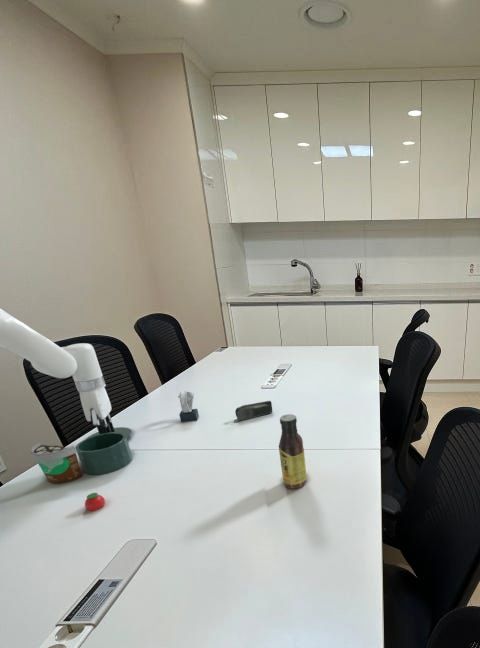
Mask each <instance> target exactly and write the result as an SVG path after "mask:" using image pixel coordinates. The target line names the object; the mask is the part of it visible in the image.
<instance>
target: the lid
mask: <svg viewBox="0 0 480 648" xmlns="http://www.w3.org/2000/svg"><path fill="white" fill-rule="evenodd" d="M107 426H109V428H110V425H109V423H107ZM114 430H115V432H120V433H123V434H125V436H126V438H127V439H128V438H129V437H130V436H131V435H132V434H133V431H132V429H131V428H128V427H125V426H123V427H122V426H121V427H120V426H119V427H118V426H117V427H114ZM110 431H111V428H110ZM111 432H112V431H111ZM96 435H99V431H97V432H95V433H92V434H91V435H88V437H86V438H85V439H87V438H90V437H92V436H96Z"/></svg>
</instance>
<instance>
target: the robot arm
mask: <svg viewBox="0 0 480 648" xmlns="http://www.w3.org/2000/svg"><path fill="white" fill-rule="evenodd" d="M0 348H2V349H4V350H7V351H9V352H11V353H14V354H15V355H17V356H19V357H20V358H23V359H25V360H26V361H28V362H30V364H31V367H32V368H33V369H34V370H36V371H37V372H39V373H42V374H44V375H46V376H47V375H48V376H50V377H53V378H57V379H67V378H69V377H72V379H73V381H74V385H75V387H76V390H77V392H78V393H79V399H80V402H81V403H80V404H81V406H82V411H83V414H84V416H85V420H86V421H87V422H91V421H92V424H93V426H95V427H96V429H97V432H99V434H103V433H111V431H112V432H115V430H114V428H115V427H114V424H113V422H112V418H111V414H110V412H111V411H112V403H111V401H110V398H109V395H108V393H107V390H106V388H105V387H106V386H107V384H106V382H105V381H106V380H105V379H104V375H103V373H102V369H101V366H100V364H99V363H100V362H99V360H98V357H97V354H96V351H95V348H94V346H93V345H92V344H90V343H88V342H87V343H86V342H84V343H83V342H82V343H81V342H80V343H73V344H70V345H66V346H61V347H60V345H58V344H57V343H55V342H53V341H52V340H50V339H49V338H48V337H46V336H44V335H43V334H41V333H40V332H37V331H36V330H35V329H33V328H31V327H30V326H28V325H27V324H25V323H24V322H23V321H20V320H19V319H17V318H15V317H14V316H13V315H11V314H9V312H6V311H5V310H4V309H2V308H1V307H0ZM107 423H109V425H110V428H111V431H110V428H109V426H107Z"/></svg>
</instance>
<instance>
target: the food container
mask: <svg viewBox="0 0 480 648" xmlns="http://www.w3.org/2000/svg"><path fill="white" fill-rule="evenodd" d="M30 455H31V460H33V461H34V462H37V464H38V465H39V467H40V469H41V471H42V473H43V474H44V476H45V478H46V480H47V481H48V483H49V484H52V485H62V484H66V483H70V482H73V481H76V480H79V479H80V478H82V477H83V473H82V470H81V467H80V463H79V458H78V455H77V451H76V448H75V446H74V445H71V446H69V447H64V446H61V445H46V444H43V442H42V441H40V442H38V443H37V444H35V445H34V446H32V448H31V450H30Z"/></svg>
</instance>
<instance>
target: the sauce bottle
mask: <svg viewBox="0 0 480 648" xmlns="http://www.w3.org/2000/svg"><path fill="white" fill-rule="evenodd" d="M297 422H298V421H297V416H296V415H295V414H292V413H289V414H284V415H282V416H280V418H279V424H280V427H281V428H280V429H281V435H280V439H279V443H278V452H279V460H280V468H281V473H282V481H283V484H284V486H285V487H286V488H287V489H299V488H302V487H303V486H305V485H306V483H307V467H306V457H305V448H304V441H303V438H302V436H301V435H300V434H299V433H298V428H297V427H298V426H297Z"/></svg>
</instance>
